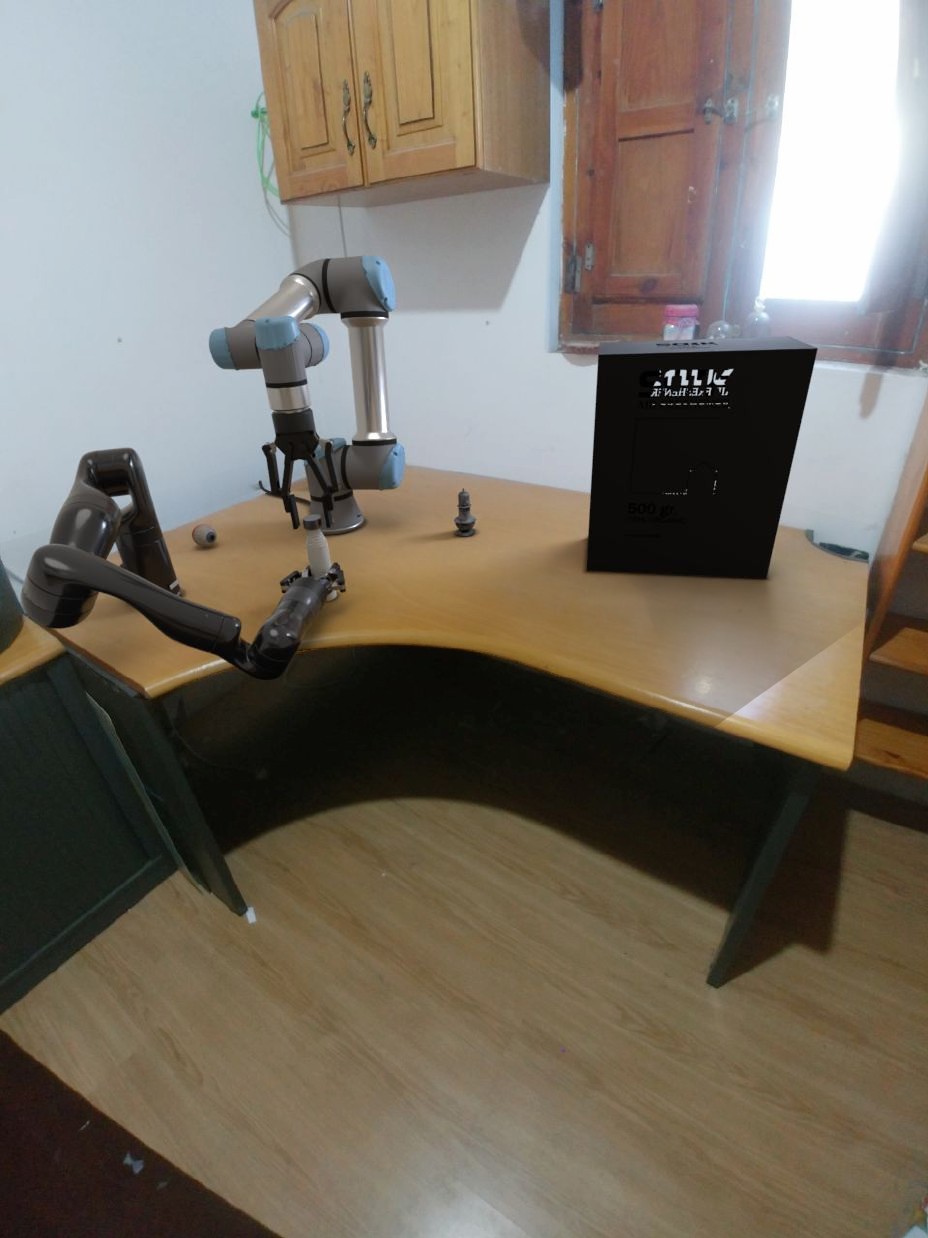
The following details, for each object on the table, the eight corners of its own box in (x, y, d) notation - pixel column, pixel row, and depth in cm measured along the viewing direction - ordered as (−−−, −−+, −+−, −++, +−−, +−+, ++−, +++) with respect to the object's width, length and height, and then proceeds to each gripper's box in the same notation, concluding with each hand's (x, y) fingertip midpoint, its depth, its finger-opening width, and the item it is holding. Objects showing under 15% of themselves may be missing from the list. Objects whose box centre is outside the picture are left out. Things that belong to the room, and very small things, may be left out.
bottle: (328, 590, 134) (315, 515, 126) (340, 595, 132) (327, 519, 123) (312, 597, 132) (297, 521, 123) (324, 603, 129) (309, 526, 120)
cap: (320, 522, 126) (319, 513, 125) (324, 528, 123) (322, 518, 122) (302, 525, 125) (300, 516, 124) (305, 531, 122) (304, 522, 120)
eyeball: (205, 552, 157) (199, 530, 154) (190, 548, 160) (184, 526, 157) (224, 544, 161) (219, 522, 158) (209, 540, 164) (203, 519, 161)
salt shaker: (474, 536, 157) (472, 491, 151) (452, 536, 158) (449, 491, 152) (478, 528, 161) (476, 484, 155) (457, 527, 163) (454, 484, 157)
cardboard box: (748, 541, 145) (788, 336, 123) (766, 578, 128) (817, 348, 106) (588, 536, 153) (599, 342, 130) (586, 571, 136) (598, 354, 113)
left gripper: (270, 621, 119) (297, 582, 134) (340, 620, 118) (360, 581, 132) (261, 587, 115) (290, 551, 130) (334, 586, 114) (355, 549, 129)
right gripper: (345, 402, 115) (362, 517, 127) (247, 407, 116) (272, 521, 127) (338, 410, 109) (356, 530, 120) (234, 416, 109) (262, 535, 121)
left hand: (325, 566), depth 131 cm, fingers closed on bottle, 4 cm apart
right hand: (313, 526), depth 124 cm, fingers open, 6 cm apart
